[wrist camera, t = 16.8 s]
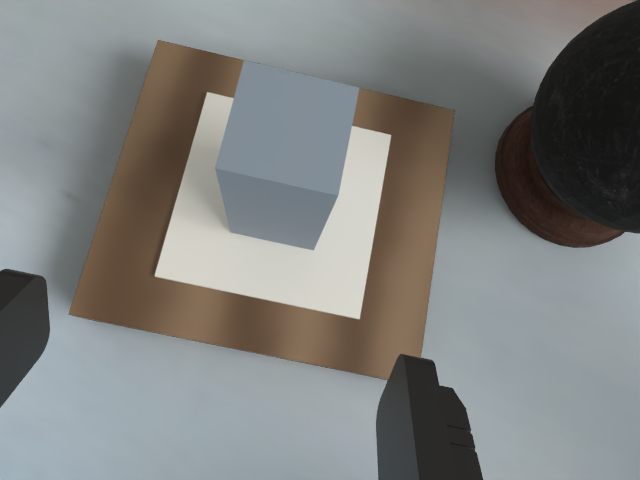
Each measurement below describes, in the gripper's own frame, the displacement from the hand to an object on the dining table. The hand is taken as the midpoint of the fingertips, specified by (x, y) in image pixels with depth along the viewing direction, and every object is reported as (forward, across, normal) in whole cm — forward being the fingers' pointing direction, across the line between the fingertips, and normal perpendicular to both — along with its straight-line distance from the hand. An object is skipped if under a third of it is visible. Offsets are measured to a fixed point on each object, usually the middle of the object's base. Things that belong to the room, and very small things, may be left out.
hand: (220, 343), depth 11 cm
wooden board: (+21, 0, +8) cm, 22 cm away
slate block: (+18, 0, +6) cm, 19 cm away
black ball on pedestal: (+27, -20, +2) cm, 33 cm away
